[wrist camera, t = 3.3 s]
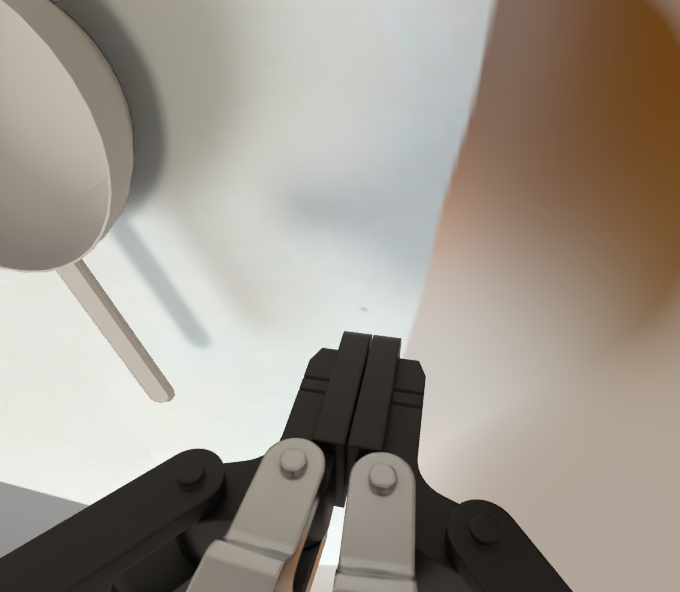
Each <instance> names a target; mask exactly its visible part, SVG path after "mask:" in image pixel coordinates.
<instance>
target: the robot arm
mask: <svg viewBox="0 0 680 592" xmlns="http://www.w3.org/2000/svg"><path fill="white" fill-rule="evenodd" d="M400 348H401V338H394V337H386V336H378V335H374V336H373V339H372V335H370V334H362V333H355V332H347V331H345V332H344V333H343V336H342V339H341V343H340V346H339V349H338V350H334V349H327V348H322V349H321V350H320V351H319V352H318V353H317V354H316V355H315V356H314V357H313V358H311V359H310V361H309V364H308V366H307V369H306V372H305V375H304V378H303V380H302V383H301V386H300V390H299V391H298V394H297V397H296V399H295V402H294V405H293V408H292V410H291V413H290V416H289V419H288V421H287V424H286V427H285V430H284V432H283V435H282V437H281V439H280V441H279V442H277V443H276V444H274V445H273V446H272V447H270V448H269V450H268V451H267V452H266V453H265V455H263V456H261V457H259V458H256V459H253V460H247V461H240V462H232V463H224V464H223V462H222V460H221V459H220V458H219V456H218V455H216V454H215V453H213V452H211V451H209V450H205V449H191V450H187V451H184V452H181V453H179V454H177V455H175V456H174V457H172V458H170V459H169V460H167V461H165V462H163V463H162V464H160V465H158V466H157V467H155V468H153V469H152V470H150V471H148V472H146V473H145V474H143V475H141V476H140V477H138V478H136V479H135V480H133V481H131V482H129V483H128V484H126V485H124V486H123V487H121V488H119V489H117V490H116V491H114V492H112V493H111V494H109V495H107V496H106V497H104V498H102V499H100V500H99V501H97V502H95V503H94V504H92V505H90V506H89V507H87V508H85V509H84V510H82V511H80V512H78V513H77V514H75V515H73V516H72V517H70V518H68V519H67V520H65V521H63V522H61V523H60V524H58V525H56V526H55V527H53V528H51V529H50V530H48V531H46V532H44V533H43V534H41V535H39V536H37V537H36V538H34V539H32V540H31V541H29V542H27V543H26V544H24V545H22V546H21V547H19V548H17V549H15V550H14V551H12V552H10V553H9V554H7V555H5V556H3V557H2V558H0V592H310V589H311V586H312V582H313V580H314V577H315V573H316V570H317V567H318V564H319V561H320V558H321V554H322V551H323V548H324V545H325V542H326V538H327V530H328V527H329V524H330V519H331V515H332V511H333V507H334V506H338V507H343V508H344V506H345V501H346V496H347V502H346V510H345V517H344V525H343V533H342V541H341V548H340V556H339V563H338V568H337V569H336V573H335V579H334V585H333V592H573V591H572V590H571V589H570V588H569V587H568V585H567V584H566V583H565V582H564V581H563V579H562V578H561V577H560V576H559V574H558V573H557V572H556V571H555V569H554V568H553V567H552V566H551V565H550V563H549V562H548V561H547V560H546V558H545V557H544V556H543V555H542V553H541V552H540V551H539V550H538V549H537V547H536V546H535V545H534V544H533V543H532V541H531V540H530V539H529V538H528V536H527V535H526V534H525V533H524V531H523V530H522V529H521V528H520V527H519V525H518V524H517V523H516V522H515V520H514V519H513V518H512V517H511V516H510V515H509V514H508V513H507V512H506V511H505V510H504V509H503V508H501V507H499V506H498V505H496V504H494V503H491V502H488V501H485V500H469V501H465V502H462V503H461V504H458V503H456V502H454V501H452V500H450V499H448V498H446V497H444V496H442V495H441V494H439V493H437V492H436V491H434V490H433V489H432V488H431V487H430V486H429V485H428V484H427V483H426V482H425V480H424V479H423V478H422V476H421V474H420V471H419V468H418V462H417V461H418V459H417V458H418V448H419V438H420V428H421V418H422V408H423V397H424V388H425V374H424V372H423V370H422V367H421V365H420V363H419V361H415V360H408V359H401V358H400Z"/></svg>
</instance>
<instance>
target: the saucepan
mask: <svg viewBox="0 0 680 592" xmlns="http://www.w3.org/2000/svg"><path fill="white" fill-rule="evenodd" d="M133 162H134V159H133V129H132V122H131V118H130V113H129V108H128V105H127V102H126V99H125V97H124V94H123V91H122V88H121V86H120V84H119V82H118V80H117V78H116V76H115V74H114V72H113V70H112V68H111V67H110V65H109V63H108V62H107V60H106V59H105V57H104V56H103V54H102V53H101V51H100V50H99V49H98V47H97V46H96V44H95V43H94V42H93V41H92V39H91V38H90V37H89V36H88V35H87V34H86V33H85V32H84V30H83V29H82V28H81V27H80V26H79V25H78V24H77V23H76V22H75V21H74V20H73V19H71V18H70V17H69V16H68V15H67V14H66V13H65V12H64V11H62V10H61V9H60V8H59V7H58V6H56V5H55V4H53V3H52V2H50V1H49V0H0V268H2V269H6V270H13V271H20V272H48V271H53V270H56V271H57V273H58V274H59V275H60V277H61V278H62V280H63V281H64V282H65V284H66V285H67V286H68V288H69V289H70V290H71V292H72V293H73V294H74V296H75V297H76V298H77V300H78V301H79V303H80V304H81V305H82V307H83V308H84V309H85V311H86V312H87V313H88V315H89V316H90V317H91V319H92V320H93V322H94V323H95V324H96V326H97V327H98V328H99V330H100V331H101V332H102V334H103V335H104V336H105V338H106V339H107V341H108V342H109V343H110V345H111V346H112V347H113V349H114V350H115V351H116V353H117V354H118V355H119V357H120V358H121V359H122V361H123V362H124V364H125V365H126V366H127V368H128V369H129V370H130V372H131V373H132V374H133V376H134V377H135V378H136V380H137V381H138V383H139V384H140V385H141V387H142V388H143V389H144V391H145V392H146V393H147V395H148V396H149V397H150V399H152V400H153V401H154V402H159V403H162V402H168V401H170V400H171V399H173V397H174V396H175V393H174V390H173V388H172V386H171V385H170V383H169V382H168V381H167V379H166V378H165V376H164V375H163V374H162V372H161V371H160V369H159V368H158V366H157V365H156V364H155V362H154V361H153V359H152V358H151V356H150V355H149V354H148V352H147V351H146V349H145V348H144V346H143V345H142V344H141V342H140V341H139V339H138V338H137V337H136V335H135V334H134V332H133V331H132V329H131V328H130V327H129V325H128V324H127V322H126V321H125V319H124V318H123V317H122V315H121V314H120V312H119V311H118V310H117V308H116V307H115V305H114V304H113V302H112V301H111V300H110V298H109V297H108V295H107V294H106V292H105V291H104V290H103V288H102V287H101V285H100V284H99V283H98V281H97V280H96V278H95V277H94V275H93V274H92V273H91V271H90V270H89V268H88V267H87V265H86V264H85V263H84V261H83V260H82V258H83V257H84V256H86V255H87V254H88V253H89V252H90V251H91V250H93V249H94V247H95V246H96V244H97V243H98V242H99V241H101V240H102V239H103V238H104V237H105V235H106V234H107V233H108V231H109V230H110V228H111V227H112V226H113V224H114V223H115V221H116V220H117V218H118V217H119V216H120V214H121V213H122V211H123V209H124V206H125V203H126V201H127V198H128V195H129V191H130V184H131V177H132V169H133Z"/></svg>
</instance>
